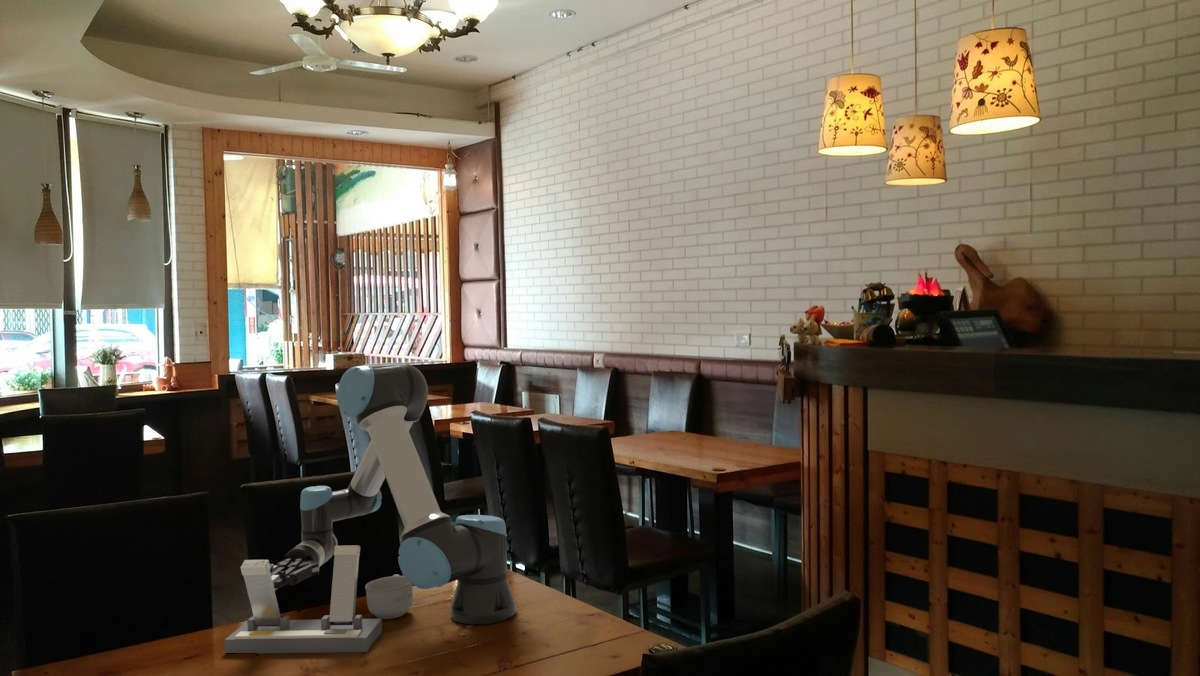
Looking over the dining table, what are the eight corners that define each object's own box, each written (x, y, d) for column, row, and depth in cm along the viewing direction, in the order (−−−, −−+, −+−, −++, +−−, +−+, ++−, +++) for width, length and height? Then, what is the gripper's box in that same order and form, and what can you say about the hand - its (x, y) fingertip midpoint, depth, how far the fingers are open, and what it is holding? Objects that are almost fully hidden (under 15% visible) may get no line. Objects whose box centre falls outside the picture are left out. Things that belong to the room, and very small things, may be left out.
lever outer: (282, 621, 194) (268, 559, 187) (278, 629, 192) (264, 567, 185) (259, 621, 195) (244, 560, 188) (255, 629, 192) (240, 567, 185)
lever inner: (354, 625, 194) (360, 546, 199) (351, 625, 191) (357, 545, 197) (331, 625, 194) (338, 546, 199) (328, 625, 191) (334, 545, 197)
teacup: (401, 624, 204) (400, 589, 204) (357, 621, 206) (356, 587, 206) (425, 604, 217) (424, 572, 217) (384, 602, 220) (383, 570, 219)
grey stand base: (381, 631, 199) (381, 607, 198) (366, 652, 187) (365, 626, 187) (248, 633, 199) (248, 609, 199) (225, 653, 187) (224, 628, 187)
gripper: (330, 575, 215) (295, 606, 191) (277, 575, 215) (235, 607, 192) (330, 544, 215) (294, 572, 191) (276, 545, 215) (234, 573, 192)
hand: (264, 589), depth 192 cm, fingers closed
